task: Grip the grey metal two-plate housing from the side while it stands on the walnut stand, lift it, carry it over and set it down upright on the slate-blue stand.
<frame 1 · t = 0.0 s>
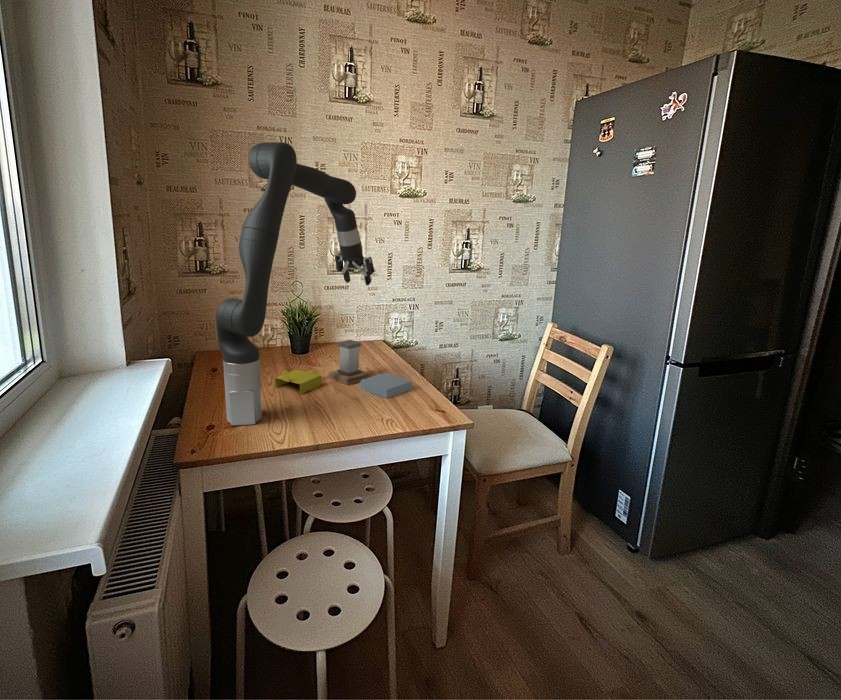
hand: (358, 283, 176), 31 cm above the table, tool tilted 20°, fingers open, 8 cm apart
stand a: (349, 378, 171), on the table
housing: (349, 373, 171), point 2 cm above the table, touching stand a
bracket: (302, 387, 163), on the table
stand b: (386, 389, 163), on the table
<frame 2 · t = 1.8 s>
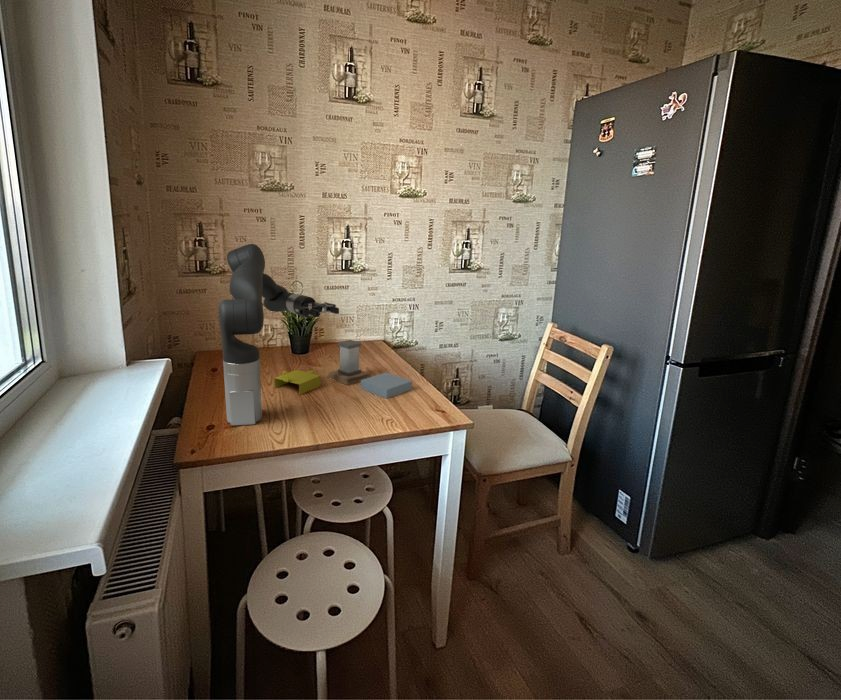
hand: (328, 312, 172), 22 cm above the table, tool horizontal, fingers open, 8 cm apart
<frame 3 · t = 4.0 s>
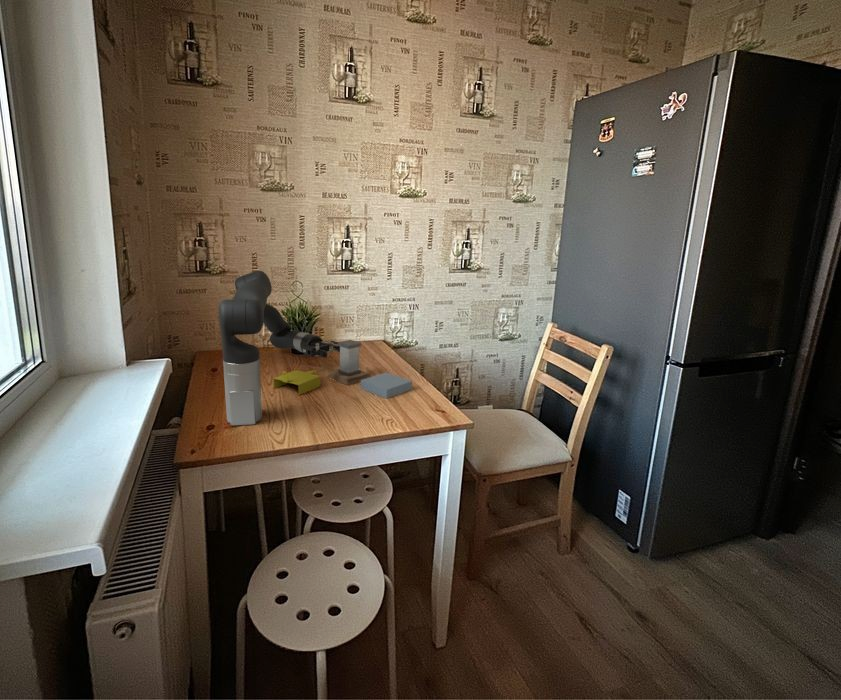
hand: (336, 352, 173), 8 cm above the table, tool horizontal, fingers open, 8 cm apart
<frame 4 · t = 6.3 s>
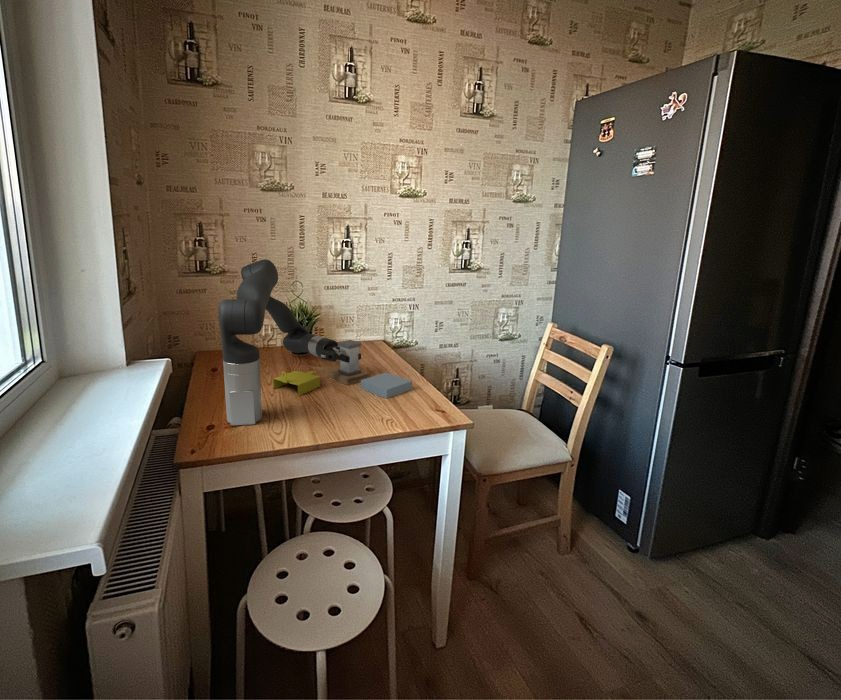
hand: (354, 358, 167), 8 cm above the table, tool horizontal, fingers closed on housing, 4 cm apart
housing: (349, 373, 171), point 2 cm above the table, touching gripper, stand a
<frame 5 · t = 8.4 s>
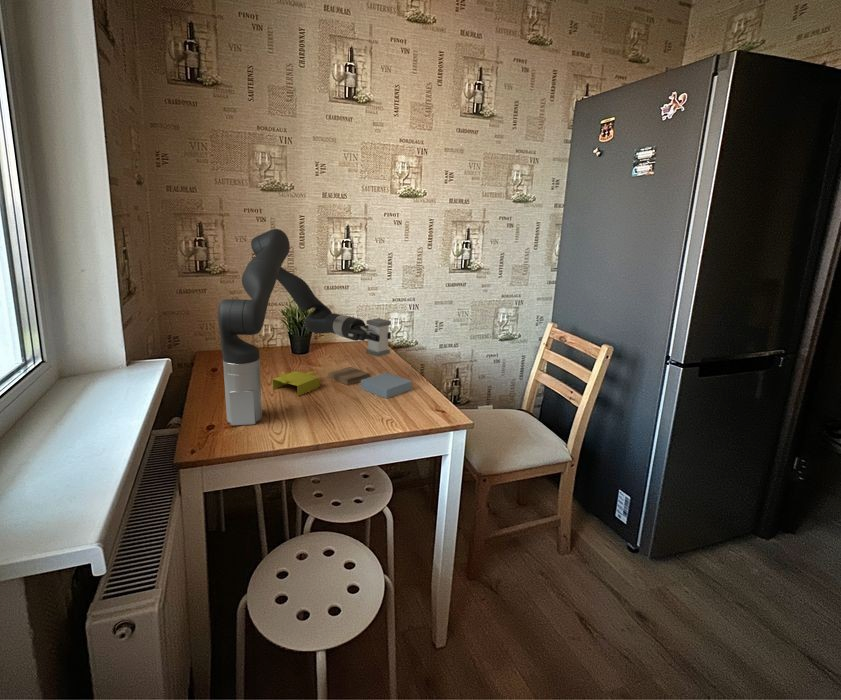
hand: (384, 337, 158), 18 cm above the table, tool horizontal, fingers closed on housing, 4 cm apart
housing: (377, 353, 162), point 12 cm above the table, touching gripper
when the fingers open (10 cm above the table, at t = 10.5 s): housing drops 1 cm, resting on stand b.
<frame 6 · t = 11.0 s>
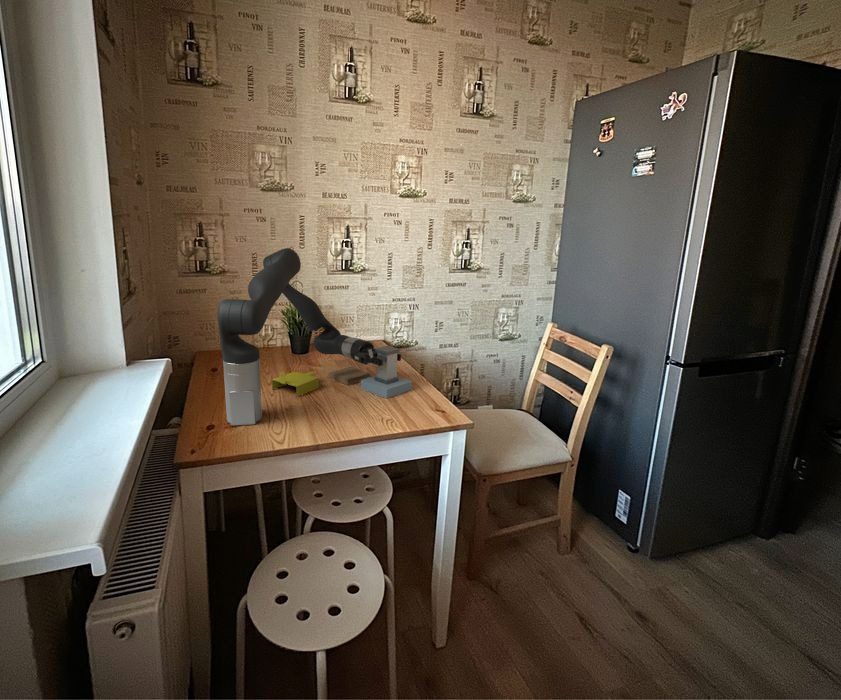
hand: (391, 360, 159), 11 cm above the table, tool horizontal, fingers open, 8 cm apart
housing: (386, 380, 162), point 3 cm above the table, touching stand b
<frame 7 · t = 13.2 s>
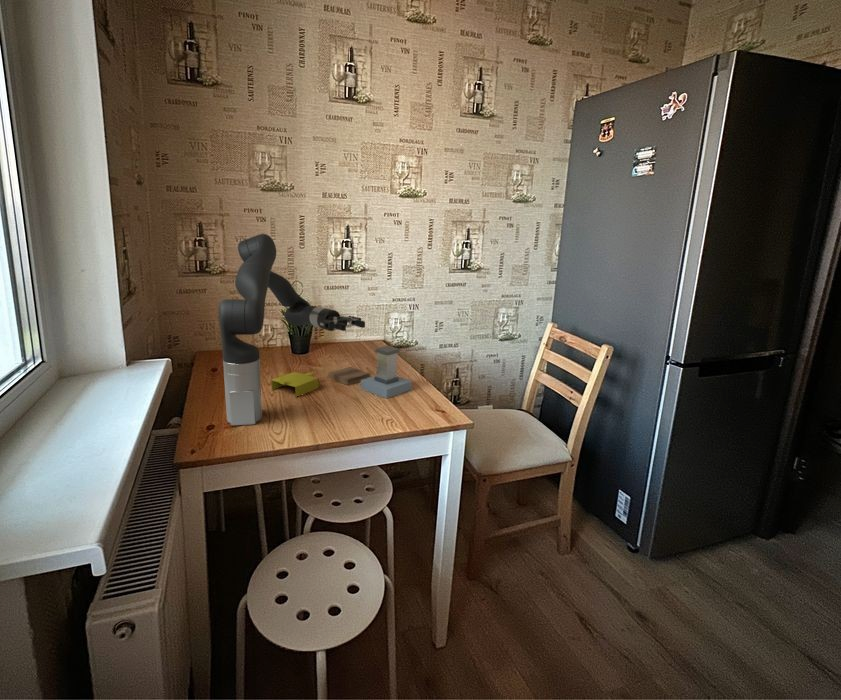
hand: (354, 326, 165), 19 cm above the table, tool horizontal, fingers open, 8 cm apart
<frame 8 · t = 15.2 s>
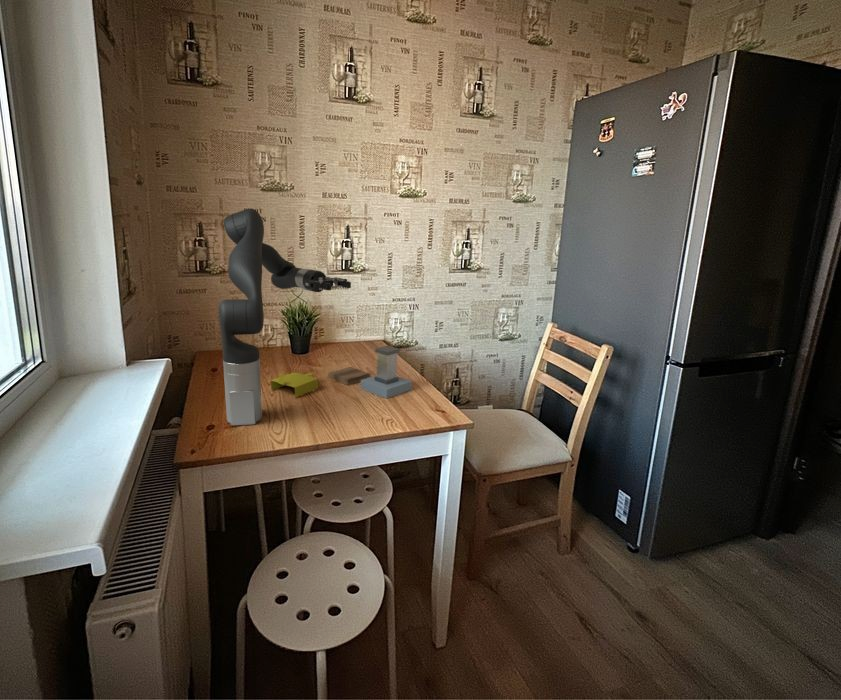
hand: (340, 286, 164), 32 cm above the table, tool horizontal, fingers open, 8 cm apart
at the end: housing inside the target area on the stand b (0.0 cm from its centre), point 3.0 cm above the stand b's base; housing tilted 0°; the gripper is holding nothing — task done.
